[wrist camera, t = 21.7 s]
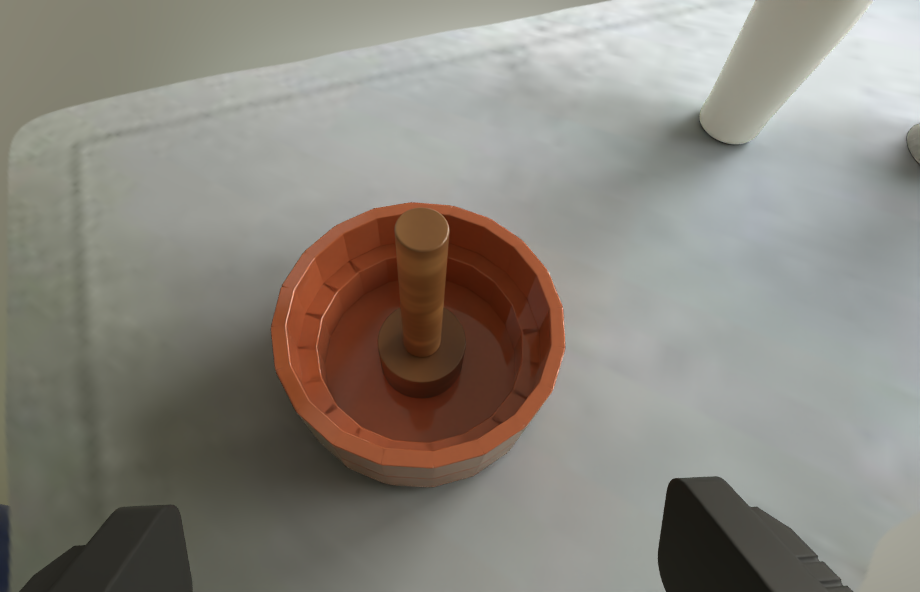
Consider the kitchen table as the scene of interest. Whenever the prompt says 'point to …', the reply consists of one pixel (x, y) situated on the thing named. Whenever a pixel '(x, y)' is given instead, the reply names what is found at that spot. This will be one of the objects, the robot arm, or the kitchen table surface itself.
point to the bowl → (358, 363)
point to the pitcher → (914, 142)
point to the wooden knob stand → (421, 311)
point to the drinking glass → (774, 62)
